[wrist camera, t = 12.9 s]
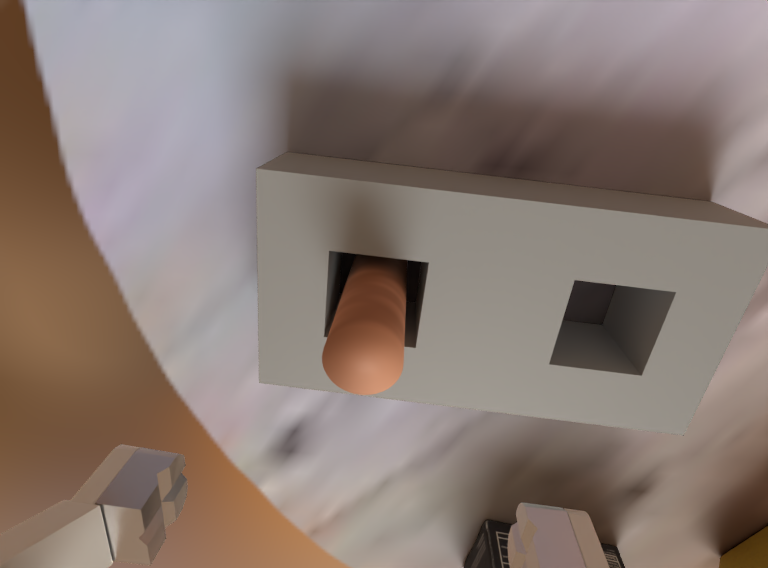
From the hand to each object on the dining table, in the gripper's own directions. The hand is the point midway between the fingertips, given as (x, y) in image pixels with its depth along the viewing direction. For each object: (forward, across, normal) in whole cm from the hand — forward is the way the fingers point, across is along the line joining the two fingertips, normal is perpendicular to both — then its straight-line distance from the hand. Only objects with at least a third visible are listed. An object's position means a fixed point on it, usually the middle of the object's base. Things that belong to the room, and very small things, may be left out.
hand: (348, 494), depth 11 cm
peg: (+16, 0, 0) cm, 16 cm away
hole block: (+16, -5, 0) cm, 17 cm away
